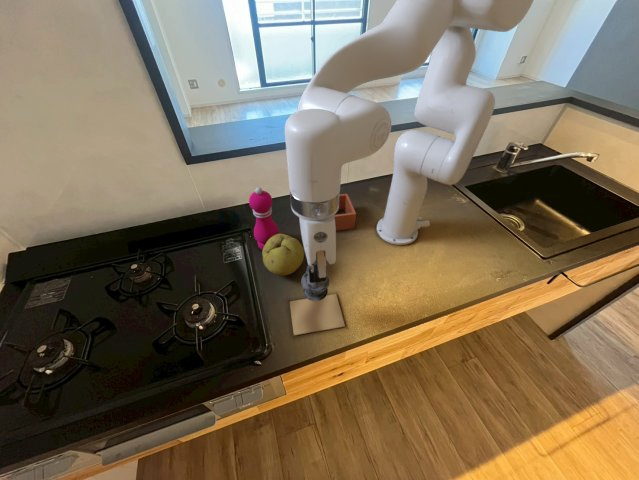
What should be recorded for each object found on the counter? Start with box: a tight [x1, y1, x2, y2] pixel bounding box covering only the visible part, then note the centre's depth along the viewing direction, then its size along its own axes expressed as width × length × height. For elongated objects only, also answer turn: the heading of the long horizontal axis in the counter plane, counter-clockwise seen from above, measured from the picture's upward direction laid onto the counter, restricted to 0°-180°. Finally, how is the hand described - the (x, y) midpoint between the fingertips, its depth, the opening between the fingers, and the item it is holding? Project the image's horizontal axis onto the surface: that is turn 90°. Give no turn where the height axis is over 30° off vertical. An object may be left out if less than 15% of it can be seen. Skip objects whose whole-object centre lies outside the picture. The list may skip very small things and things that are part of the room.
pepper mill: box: [248, 186, 280, 251], centre depth 77 cm, size 7×7×20 cm
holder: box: [334, 193, 357, 232], centre depth 90 cm, size 11×11×6 cm
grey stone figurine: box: [300, 262, 331, 301], centre depth 56 cm, size 6×6×12 cm
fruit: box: [261, 233, 305, 277], centre depth 74 cm, size 11×12×10 cm
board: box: [289, 293, 346, 337], centre depth 67 cm, size 12×9×1 cm
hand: (315, 271), depth 56 cm, fingers closed on grey stone figurine, 3 cm apart
